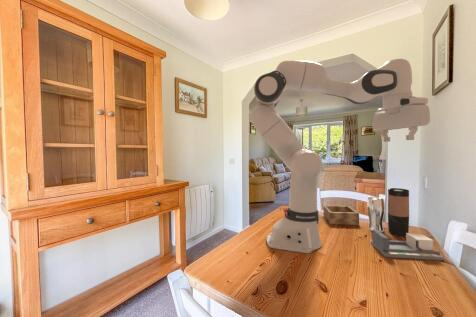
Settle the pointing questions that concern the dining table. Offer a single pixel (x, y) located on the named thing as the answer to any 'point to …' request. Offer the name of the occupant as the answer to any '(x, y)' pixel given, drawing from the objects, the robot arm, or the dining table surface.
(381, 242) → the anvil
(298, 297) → the dining table surface
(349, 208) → the tray
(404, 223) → the travel mug
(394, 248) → the gauge board
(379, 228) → the beer glass
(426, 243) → the block
